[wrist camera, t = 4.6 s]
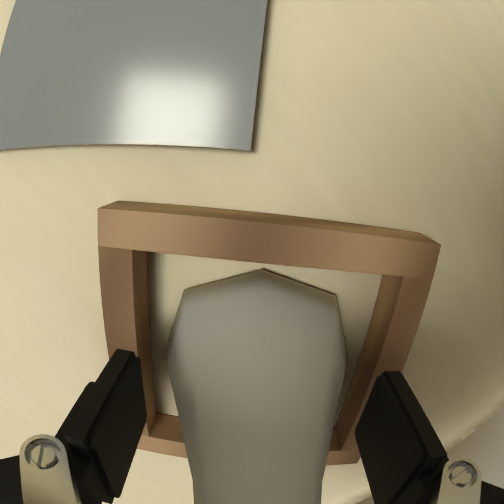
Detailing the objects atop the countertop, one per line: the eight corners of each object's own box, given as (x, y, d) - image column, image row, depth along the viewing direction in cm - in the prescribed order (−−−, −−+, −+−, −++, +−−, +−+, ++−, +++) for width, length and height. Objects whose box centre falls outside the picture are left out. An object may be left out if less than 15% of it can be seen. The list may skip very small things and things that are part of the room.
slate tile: (278, -88, 7) (279, -96, 6) (250, 151, 10) (250, 150, 9) (47, -56, 7) (41, -60, 6) (-4, 150, 10) (-13, 151, 9)
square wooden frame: (419, 233, 11) (441, 244, 9) (350, 440, 14) (356, 463, 12) (117, 201, 11) (97, 208, 9) (136, 424, 14) (127, 446, 12)
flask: (329, 414, 13) (374, 608, 4) (174, 408, 13) (124, 605, 4) (360, 270, 11) (534, 508, 2) (160, 261, 11) (-18, 511, 2)
